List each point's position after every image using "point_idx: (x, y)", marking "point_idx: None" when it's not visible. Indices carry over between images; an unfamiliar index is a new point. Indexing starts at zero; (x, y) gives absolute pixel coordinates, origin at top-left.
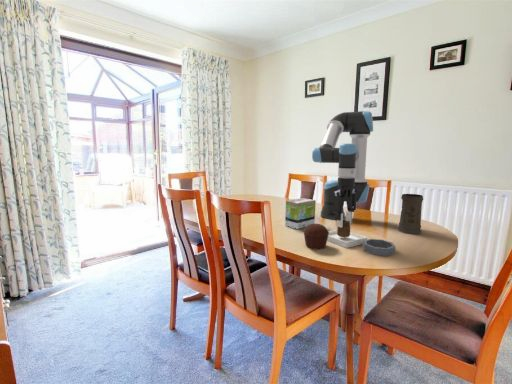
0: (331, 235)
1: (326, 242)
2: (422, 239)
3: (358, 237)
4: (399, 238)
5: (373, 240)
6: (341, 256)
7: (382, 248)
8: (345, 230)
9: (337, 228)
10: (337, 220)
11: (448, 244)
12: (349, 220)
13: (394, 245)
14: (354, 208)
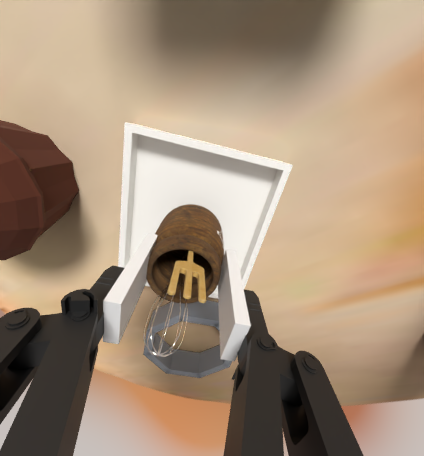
0: (188, 162)
1: (56, 220)
2: (373, 365)
3: (243, 265)
4: (350, 331)
5: (217, 326)
6: (53, 288)
7: (157, 365)
8: (165, 268)
9: (160, 225)
10: (133, 257)
11: (358, 399)
12: (220, 295)
13: (208, 374)
14: (281, 401)
